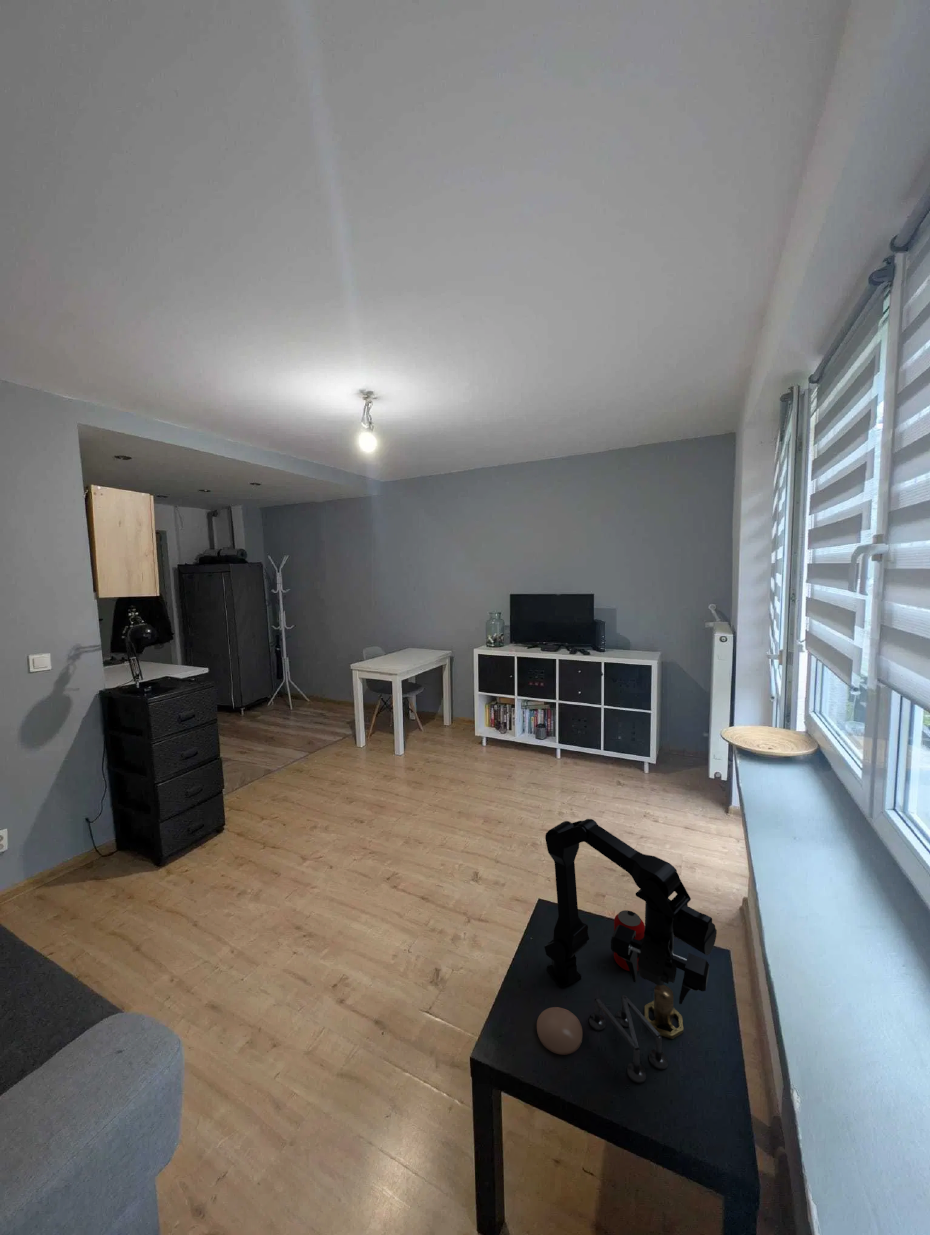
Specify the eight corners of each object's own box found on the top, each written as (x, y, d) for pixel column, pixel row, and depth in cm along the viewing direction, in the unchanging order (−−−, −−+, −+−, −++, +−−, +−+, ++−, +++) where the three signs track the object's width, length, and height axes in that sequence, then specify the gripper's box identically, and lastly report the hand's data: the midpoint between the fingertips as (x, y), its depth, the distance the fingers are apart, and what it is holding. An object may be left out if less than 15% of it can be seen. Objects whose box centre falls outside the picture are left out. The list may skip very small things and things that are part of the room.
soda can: (646, 955, 124) (646, 913, 123) (641, 977, 118) (642, 932, 117) (617, 945, 128) (617, 904, 127) (611, 965, 121) (611, 922, 120)
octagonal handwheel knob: (637, 1012, 108) (637, 984, 108) (662, 999, 111) (662, 972, 111) (664, 1043, 101) (665, 1014, 100) (690, 1028, 104) (691, 999, 104)
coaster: (528, 1021, 107) (528, 1017, 106) (564, 1004, 111) (564, 1000, 111) (553, 1062, 97) (553, 1058, 97) (591, 1042, 102) (591, 1038, 101)
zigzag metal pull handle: (585, 1019, 107) (585, 995, 106) (618, 1002, 111) (618, 980, 110) (636, 1086, 93) (636, 1059, 92) (671, 1064, 97) (671, 1038, 96)
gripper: (603, 929, 96) (602, 998, 98) (703, 972, 86) (700, 1048, 87) (618, 898, 105) (617, 961, 107) (711, 933, 95) (708, 1002, 97)
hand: (657, 991), depth 99 cm, fingers open, 9 cm apart
